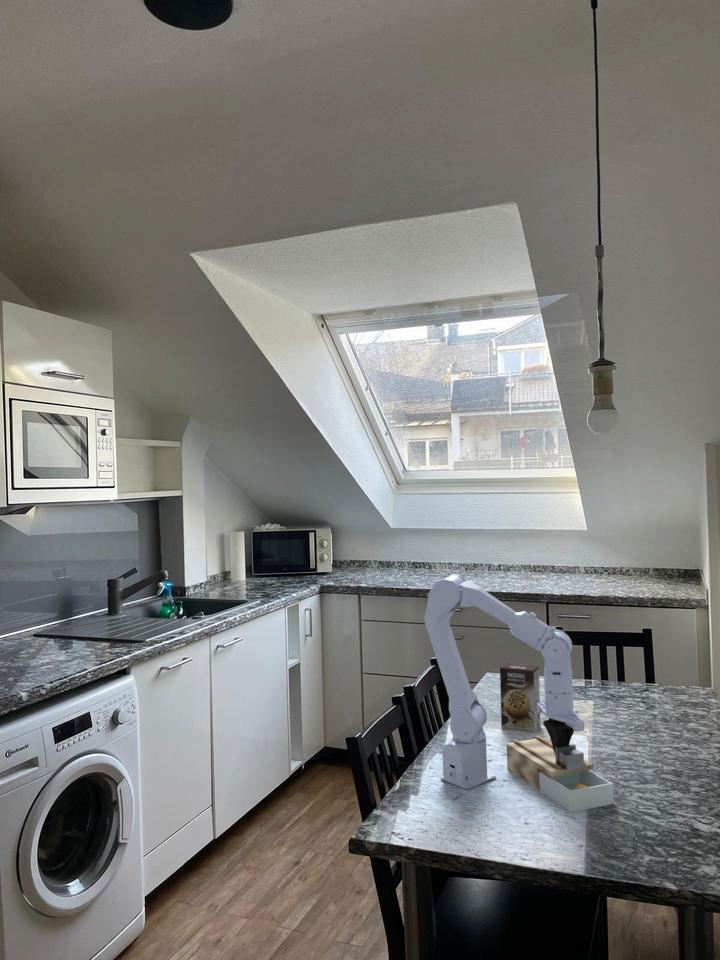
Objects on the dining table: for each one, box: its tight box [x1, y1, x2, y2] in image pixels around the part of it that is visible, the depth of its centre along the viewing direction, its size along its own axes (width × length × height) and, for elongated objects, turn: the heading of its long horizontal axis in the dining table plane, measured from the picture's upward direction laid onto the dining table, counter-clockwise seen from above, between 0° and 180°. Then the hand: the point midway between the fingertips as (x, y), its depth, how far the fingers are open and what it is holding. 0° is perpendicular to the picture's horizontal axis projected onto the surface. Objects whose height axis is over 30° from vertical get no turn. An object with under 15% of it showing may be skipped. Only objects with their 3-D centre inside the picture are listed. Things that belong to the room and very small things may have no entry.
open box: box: [539, 770, 615, 813], centre depth 151 cm, size 11×10×4 cm
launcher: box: [506, 735, 594, 791], centre depth 161 cm, size 18×10×6 cm, turn 18°
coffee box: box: [499, 662, 541, 734], centre depth 195 cm, size 9×6×16 cm
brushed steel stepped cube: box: [555, 743, 585, 771], centre depth 153 cm, size 4×4×4 cm
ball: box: [574, 784, 587, 790], centre depth 149 cm, size 3×3×3 cm
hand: (560, 755), depth 156 cm, fingers closed
